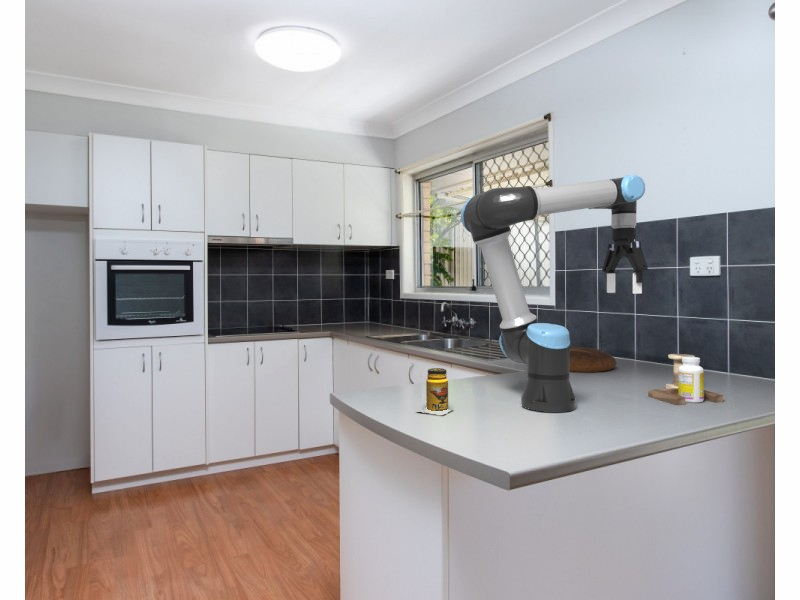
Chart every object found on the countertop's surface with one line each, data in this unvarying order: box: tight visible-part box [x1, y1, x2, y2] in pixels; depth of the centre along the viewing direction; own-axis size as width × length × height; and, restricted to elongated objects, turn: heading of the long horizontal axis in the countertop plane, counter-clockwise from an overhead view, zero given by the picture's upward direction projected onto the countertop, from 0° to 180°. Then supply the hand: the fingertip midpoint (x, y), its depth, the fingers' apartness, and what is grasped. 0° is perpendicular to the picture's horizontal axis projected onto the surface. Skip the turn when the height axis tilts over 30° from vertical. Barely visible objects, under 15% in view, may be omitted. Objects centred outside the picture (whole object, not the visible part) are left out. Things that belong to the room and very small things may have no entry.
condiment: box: [425, 367, 449, 411], centre depth 148 cm, size 7×8×12 cm
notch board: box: [647, 388, 724, 406], centre depth 161 cm, size 16×12×2 cm
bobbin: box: [665, 353, 696, 389], centre depth 174 cm, size 9×9×11 cm
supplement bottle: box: [678, 356, 705, 404], centre depth 158 cm, size 7×7×13 cm
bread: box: [569, 346, 617, 373], centre depth 220 cm, size 28×27×9 cm
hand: (623, 293), depth 174 cm, fingers open, 13 cm apart
